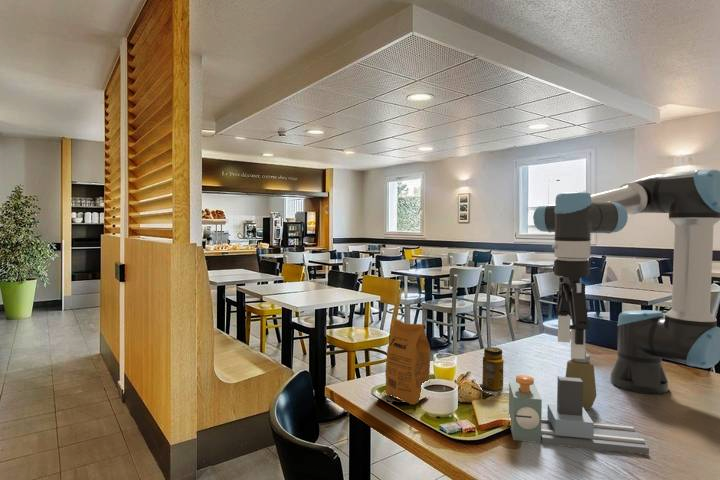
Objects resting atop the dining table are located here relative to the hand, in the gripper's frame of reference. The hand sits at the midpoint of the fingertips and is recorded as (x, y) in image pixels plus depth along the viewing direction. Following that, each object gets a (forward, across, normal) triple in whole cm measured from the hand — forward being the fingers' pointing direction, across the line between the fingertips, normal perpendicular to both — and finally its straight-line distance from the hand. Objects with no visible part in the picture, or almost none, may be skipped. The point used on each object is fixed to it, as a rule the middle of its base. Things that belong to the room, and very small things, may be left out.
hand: (570, 349), depth 103 cm
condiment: (+21, -27, -16) cm, 38 cm away
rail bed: (+20, 0, +4) cm, 21 cm away
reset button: (+10, 0, -10) cm, 15 cm away
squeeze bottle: (+21, -19, +7) cm, 29 cm away
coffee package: (+21, -15, -40) cm, 48 cm away
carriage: (+19, 0, 0) cm, 19 cm away
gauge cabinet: (+20, 0, -10) cm, 23 cm away
